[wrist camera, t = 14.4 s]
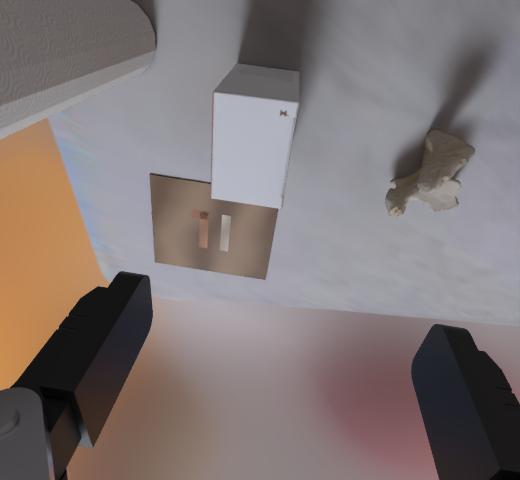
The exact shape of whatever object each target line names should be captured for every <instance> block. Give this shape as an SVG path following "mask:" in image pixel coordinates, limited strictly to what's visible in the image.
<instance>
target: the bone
mask: <svg viewBox="0 0 520 480" xmlns="http://www.w3.org/2000/svg"><path fill="white" fill-rule="evenodd" d="M474 152H475V149H474V148H473V147H472V146H470V145H469V144H467V143H466V142H465V141H463V140H461V139H459V138H457V137H455V136H453V135H450V134H447V133H445V132H443V131H440V130H431V131H430V132H429V133H428V134H427V135H426V138H425V147H424V153H423V159H422V165H421V167H420V169H419V170H418V171H417V172H415V173H414V174H412V175H410V176H408V177H404V178H400V179H394V180H392V181H391V182H390V183H392V184H395V185H396V188H395V189H392V188H391V189H389V191H388V193H387V195H386V198H385V204H386V208H387V210H388V213H389V215H390V216H395V217H396V216H399V215H402V214H404V211H405V208H406V206H407V204H408V203H409V202H412V201H418V202H422V203H427V204H428V205H429V208H430V209H431V211H441V210H442V209H443V210H445V209H451V208H453V207H456V206H458V204H459V203H458V201H457V198H456V195H457V193H458V192H459V190H460V189H461V184H460V181H458V180H456V179H452V177H453V176H454V174H455V172H456V171H457V170H458V169H460V168H461V167H462V166H463V165H465V164H466V163H467V162H468V160H469V158H470V157H471V156H473V154H474Z"/></svg>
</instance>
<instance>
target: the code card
mask: <svg viewBox="0 0 520 480" xmlns="http://www.w3.org/2000/svg"><path fill="white" fill-rule="evenodd" d="M150 187H151V204H152V220H153V237H154V253H155V262H157V263H163V264H169V265H175V266H182V267H188V268H194V269H200V270H207V271H213V272H219V273H225V274H232V275H238V276H244V277H250V278H257V279H263V280H265V279H266V273H267V268H268V262H269V256H270V251H271V245H272V240H273V234H274V228H275V223H276V217H277V212H278V208H272V207H265V206H259V205H252V204H245V203H239V202H232V201H225V200H219V199H212V198H211V184H209V183H203V182H197V181H190V180H184V179H178V178H171V177H165V176H159V175H152V174H150Z"/></svg>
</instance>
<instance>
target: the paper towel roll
mask: <svg viewBox="0 0 520 480" xmlns="http://www.w3.org/2000/svg"><path fill="white" fill-rule="evenodd" d="M155 51H156V45H155V33H154V30H153V28H152V25H151V23H150V20H149V18H148V17H147V16H146V14H145V13H144V12H143V11H142V9H141V8H140V7H139V6H138V4H136V3H134V2H133V1H131V0H0V139H2V138H4V137H6V136H8V135H11V134H13V133H15V132H17V131H19V130H21V129H23V128H25V127H28V126H30V125H32V124H34V123H36V122H38V121H40V120H43V119H44V118H47V117H49V116H51V115H53V114H55V113H57V112H60V111H62V110H64V109H66V108H68V107H70V106H72V105H74V104H77V103H79V102H81V101H83V100H85V99H87V98H89V97H91V96H94V95H96V94H98V93H100V92H102V91H104V90H106V89H108V88H111V87H113V86H115V85H117V84H119V83H121V82H123V81H125V80H128V79H130V78H132V77H134V76H136V75H138V74H140V73H142V72H143V71H144V70H145V69H146V68H147V67H148V66H149V65H150V64H151V63H152V60H153V57H154V54H155Z"/></svg>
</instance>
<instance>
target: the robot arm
mask: <svg viewBox="0 0 520 480" xmlns="http://www.w3.org/2000/svg"><path fill="white" fill-rule="evenodd" d="M152 317H153V310H152V298H151V287H150V279H149V276H147V275H142V274H136V273H130V272H124V271H121V272H119V273H118V274H117V275H116V277H115V278H114V279H113V281H112V282H111V284H110V285H109V287H108V288H105V287H99V286H98V287H96V288H95V289H93V290H92V291H90V292H89V293H88V294H86V295H85V296H83V297H82V298H80V300H79V301H78V302H77V304H76V305H75V306H74V307H73V309H72V310H71V311H70V313H69V316H68V317H66V318H65V319H64V321H63V322H62V323H61V324H60V326H59V329H58V330H56V331H55V332H54V333H53V335H52V336H51V338H50V339H49V340H48V341H47V343H46V344H45V345H44V347H43V348H42V349H41V350H40V352H39V353H38V354H37V356H36V357H35V358H34V359H33V361H32V362H31V363H30V365H29V366H28V367H27V368H26V370H25V371H24V373H23V374H22V375H21V376H20V378H19V379H18V380H17V381H16V382H15V383H14V385H12V386H11V387H10V388H8V389H4V390H1V391H0V480H71V476H70V469H69V461H70V459H71V458H72V456H73V454H74V452H75V450H76V448H77V446H83V447H88V448H93V447H94V445H95V443H96V441H97V439H98V437H99V435H100V433H101V430H102V428H103V426H104V424H105V422H106V420H107V418H108V416H109V414H110V412H111V410H112V408H113V406H114V404H115V402H116V399H117V397H118V395H119V393H120V391H121V389H122V387H123V385H124V383H125V381H126V379H127V377H128V375H129V373H130V371H131V369H132V366H133V364H134V362H135V360H136V358H137V356H138V354H139V352H140V350H141V348H142V346H143V344H144V342H145V339H146V338H147V335H148V333H149V331H150V327H151V323H152ZM411 370H412V371H411V374H412V380H413V385H414V388H415V392H416V396H417V399H418V403H419V407H420V410H421V414H422V418H423V421H424V425H425V428H426V432H427V436H428V440H429V443H430V447H431V451H432V454H433V458H434V462H435V465H436V469H437V473H438V476H439V480H520V404H519V402H518V400H517V398H516V396H515V395H514V394H513V393H512V392H511V391H512V389H511V387H510V385H509V383H508V381H507V379H506V377H505V375H504V374H503V372H502V370H501V369H500V368H499V366H498V365H497V364H496V363H495V362H494V361H493V360H492V359H491V358H490V357H489V356H488V354H487V353H486V352H484V351H478V349H477V347H476V345H475V343H474V340H473V338H472V336H471V334H470V333H469V331H468V330H466V329H464V328H458V327H452V326H446V325H440V324H435V325H434V326H432V328H431V329H430V331H429V332H428V334H427V336H426V338H425V339H424V341H423V343H422V344H421V347H420V348H419V350H418V351H417V353H416V355H415V357H414V359H413V362H412V369H411Z"/></svg>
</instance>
